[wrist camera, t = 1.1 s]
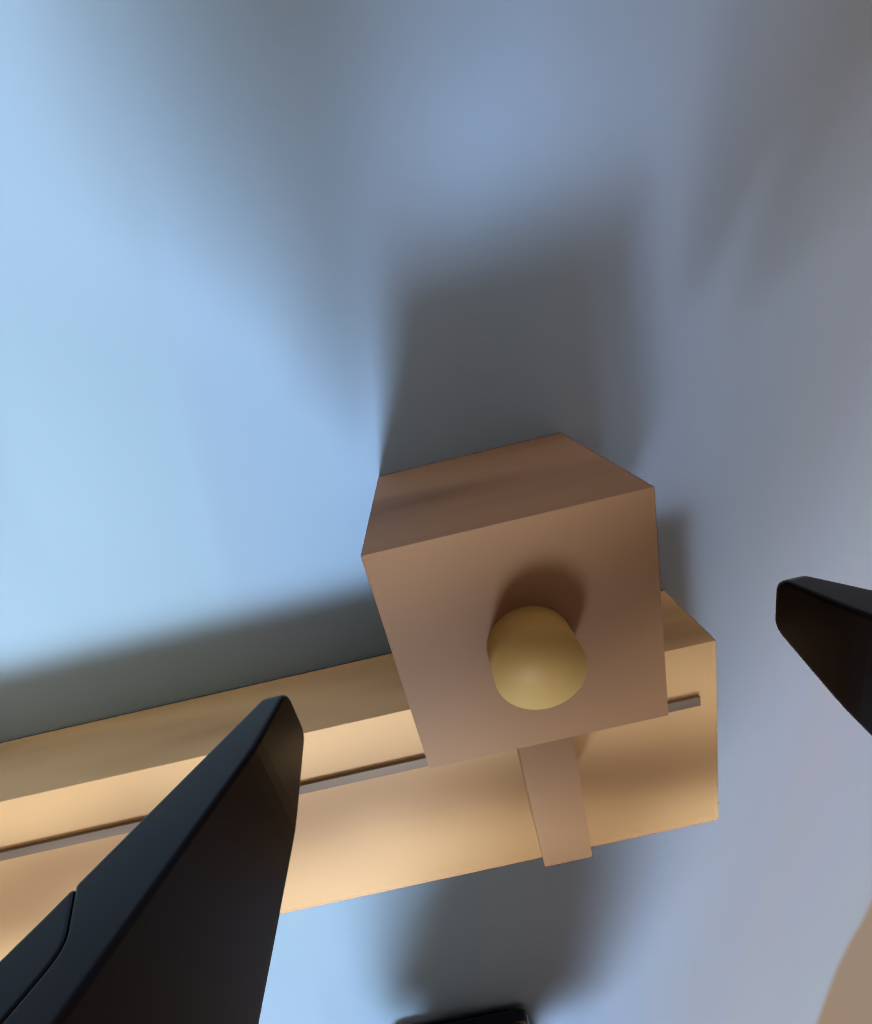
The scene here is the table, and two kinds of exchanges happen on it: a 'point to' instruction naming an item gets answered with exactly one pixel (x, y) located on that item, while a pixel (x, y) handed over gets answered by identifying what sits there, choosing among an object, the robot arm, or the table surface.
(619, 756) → the board
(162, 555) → the table surface
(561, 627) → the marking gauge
